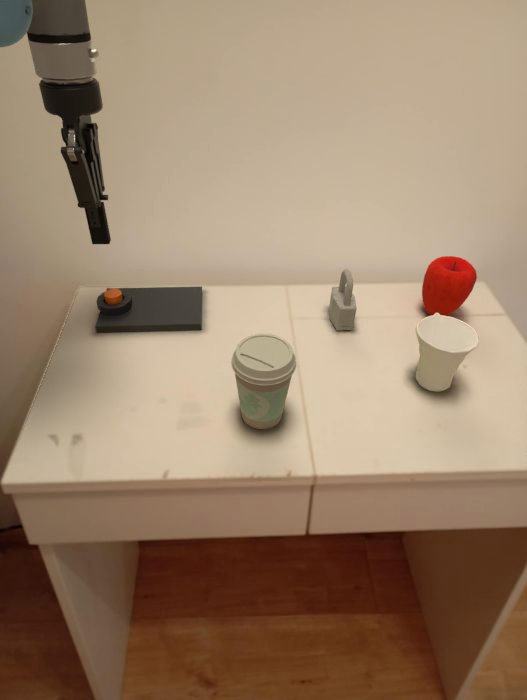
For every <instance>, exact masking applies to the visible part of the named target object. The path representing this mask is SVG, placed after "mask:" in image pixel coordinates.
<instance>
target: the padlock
mask: <svg viewBox="0 0 527 700" xmlns="http://www.w3.org/2000/svg"><path fill="white" fill-rule="evenodd" d="M353 289H354V279H353V275H352V272H351V271H350V269H348V268H344V269H343V270H342V271H341V275H340V278H339V284H338V286H332V287H331V293H330V299H329V306H328V313H329V320H330V322H331V323H332V325H333V326H334V328H335V330H336V331H353V328H354V324H355V319H356V313H357V301H356V296H355V295H354V294H353Z"/></svg>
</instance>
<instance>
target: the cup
mask: <svg viewBox="0 0 527 700" xmlns="http://www.w3.org/2000/svg"><path fill="white" fill-rule="evenodd" d="M415 333H416V338H417V342H418V347H419V348H418V351H419V357H418V361H417V362H418V363H417V368H416V372H415V380H416V381H417V383H418V384H419V386H420V387H422V388H423V389H425V390H427V391H429V392H439V393H440V392H443V391H446V390H448V389H449V388H450V387H451V386H452V382H453V378H454V376H455V373H456V371H458V368H459V367H460V365H461V364H462V363H463V361H464V360H465V358H466V357H467V356H469V354H470V353H472V352H473V351H474V350H475V349H476V348H477V347H478V345H479V339H480V338H479V335H478V333H477V332H476V330H475V329H474V328H473V327H472V326H471V325H469V324H468V323H467V322H465V321H463V320H461V319H459V318H456V317H453V316H450V315H449V316H443V315H440V314H439V313H435V314H434V315H432V316H431V315H428V316H426V317H424V318H422V319H420V320H419V321H418V323H417V324H416V326H415Z"/></svg>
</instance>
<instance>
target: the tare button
mask: <svg viewBox="0 0 527 700" xmlns="http://www.w3.org/2000/svg"><path fill="white" fill-rule="evenodd" d="M104 292H105V293H104V297H105V301H106V303H107V304H118V303H120V302H122V300H123V298H122V292H121V291H120V290H119V289H109V290H107V291H106V290H105V291H104Z"/></svg>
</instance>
